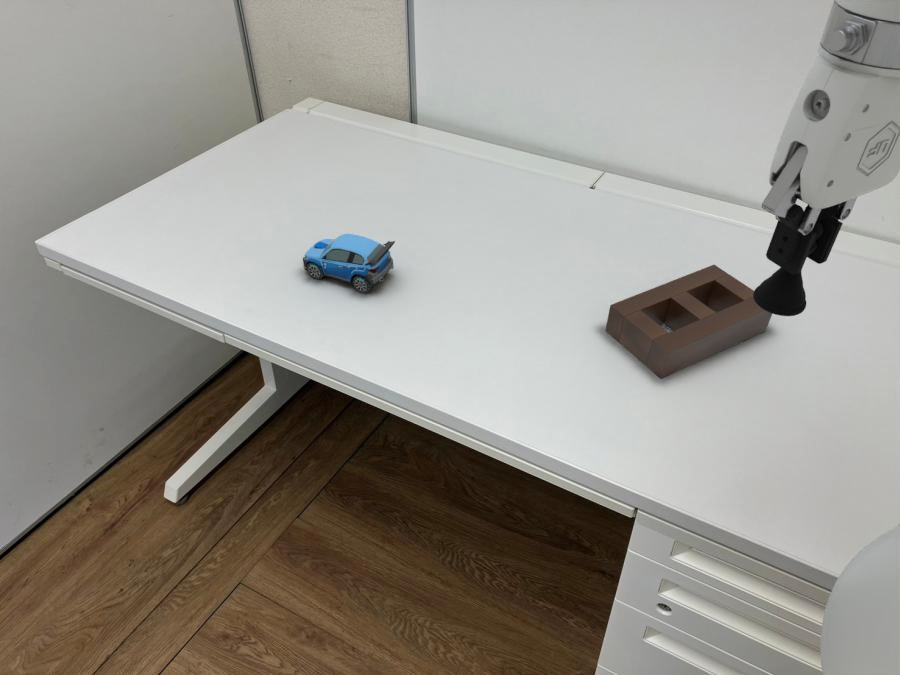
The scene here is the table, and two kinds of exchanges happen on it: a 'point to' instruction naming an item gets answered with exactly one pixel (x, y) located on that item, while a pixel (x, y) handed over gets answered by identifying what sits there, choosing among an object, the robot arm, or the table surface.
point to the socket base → (687, 320)
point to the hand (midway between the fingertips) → (795, 258)
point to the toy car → (350, 260)
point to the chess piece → (785, 288)
